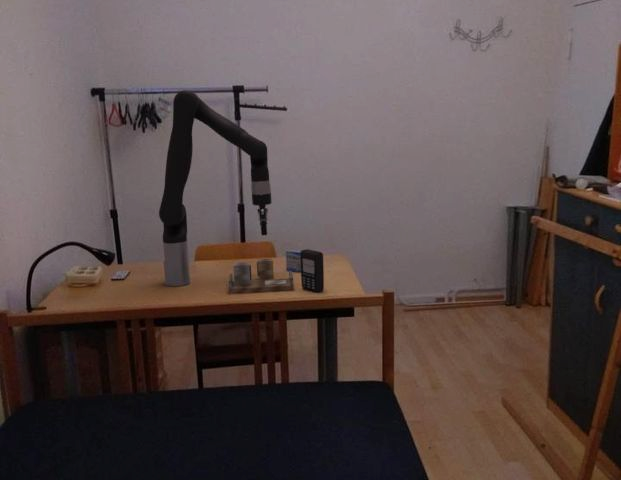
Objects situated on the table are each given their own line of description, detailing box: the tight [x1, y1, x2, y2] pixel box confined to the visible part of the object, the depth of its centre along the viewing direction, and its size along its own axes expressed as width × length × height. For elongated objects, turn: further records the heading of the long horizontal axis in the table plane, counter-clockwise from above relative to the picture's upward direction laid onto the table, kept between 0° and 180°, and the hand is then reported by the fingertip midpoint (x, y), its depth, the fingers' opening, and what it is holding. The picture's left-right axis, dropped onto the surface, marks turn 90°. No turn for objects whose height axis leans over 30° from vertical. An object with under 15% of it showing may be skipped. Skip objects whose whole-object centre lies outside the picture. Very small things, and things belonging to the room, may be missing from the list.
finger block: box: [256, 258, 275, 280], centre depth 236 cm, size 6×4×8 cm, turn 95°
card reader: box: [300, 248, 325, 293], centre depth 219 cm, size 9×4×15 cm, turn 44°
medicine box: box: [285, 249, 303, 273], centre depth 248 cm, size 8×4×9 cm, turn 62°
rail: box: [227, 262, 295, 295], centre depth 224 cm, size 24×10×10 cm, turn 95°
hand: (264, 232), depth 233 cm, fingers open, 8 cm apart
